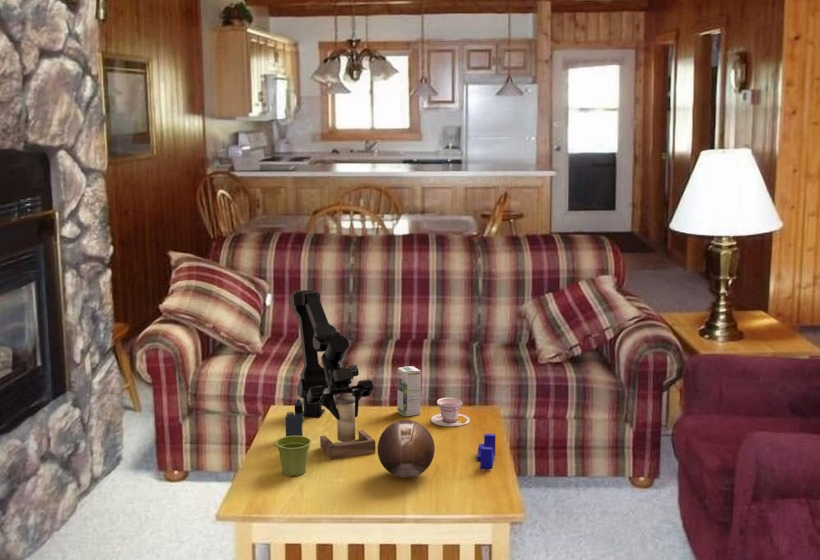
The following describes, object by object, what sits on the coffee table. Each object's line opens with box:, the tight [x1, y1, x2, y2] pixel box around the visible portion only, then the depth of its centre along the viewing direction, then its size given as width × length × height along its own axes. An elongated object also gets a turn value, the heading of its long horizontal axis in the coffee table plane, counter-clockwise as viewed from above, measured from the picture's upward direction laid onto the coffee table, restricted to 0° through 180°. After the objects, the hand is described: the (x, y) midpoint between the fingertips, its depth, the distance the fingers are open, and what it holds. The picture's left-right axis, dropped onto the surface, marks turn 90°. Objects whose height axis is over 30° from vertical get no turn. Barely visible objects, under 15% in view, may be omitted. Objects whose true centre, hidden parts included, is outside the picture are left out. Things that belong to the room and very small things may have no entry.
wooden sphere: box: [377, 419, 436, 479], centre depth 264 cm, size 15×15×15 cm
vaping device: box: [284, 398, 305, 437], centre depth 292 cm, size 3×5×12 cm, turn 89°
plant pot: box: [275, 435, 312, 477], centre depth 268 cm, size 9×9×9 cm
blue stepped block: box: [476, 433, 497, 471], centre depth 275 cm, size 12×4×6 cm, turn 171°
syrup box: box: [397, 365, 422, 417], centre depth 314 cm, size 6×6×14 cm
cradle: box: [319, 429, 377, 460], centre depth 284 cm, size 10×13×3 cm
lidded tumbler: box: [336, 394, 356, 442], centre depth 283 cm, size 5×5×12 cm
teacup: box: [430, 397, 471, 428], centre depth 308 cm, size 12×12×6 cm
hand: (347, 418), depth 282 cm, fingers closed on lidded tumbler, 5 cm apart
